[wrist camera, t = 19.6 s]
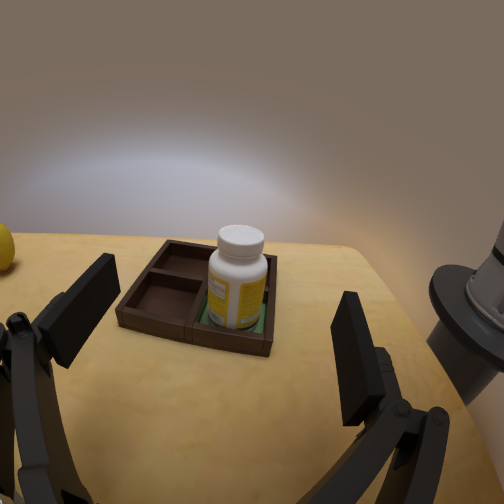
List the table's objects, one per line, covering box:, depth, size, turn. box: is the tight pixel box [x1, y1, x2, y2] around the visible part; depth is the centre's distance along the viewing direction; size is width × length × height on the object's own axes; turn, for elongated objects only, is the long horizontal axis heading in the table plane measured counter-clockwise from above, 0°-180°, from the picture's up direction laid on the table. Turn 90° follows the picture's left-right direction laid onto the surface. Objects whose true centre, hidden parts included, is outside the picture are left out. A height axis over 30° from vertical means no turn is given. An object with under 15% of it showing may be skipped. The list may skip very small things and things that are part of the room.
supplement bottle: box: [208, 225, 268, 332], centre depth 26 cm, size 5×5×10 cm
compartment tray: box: [115, 240, 277, 357], centre depth 31 cm, size 16×16×2 cm
